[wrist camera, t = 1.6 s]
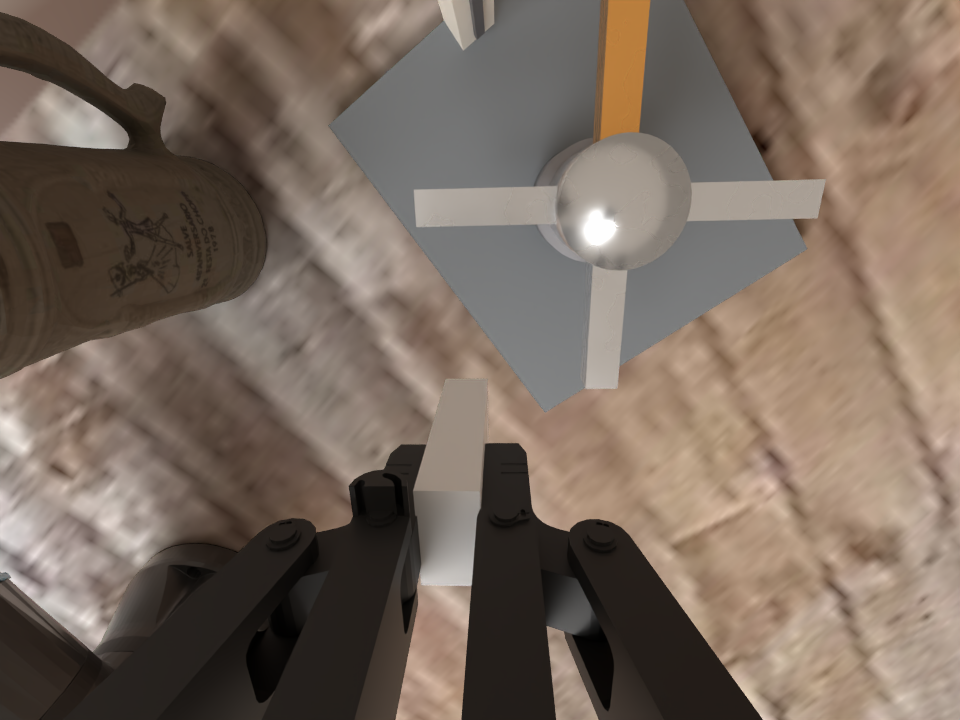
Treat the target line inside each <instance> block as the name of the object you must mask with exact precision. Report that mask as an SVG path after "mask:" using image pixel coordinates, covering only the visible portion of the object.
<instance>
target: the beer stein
mask: <svg viewBox="0 0 960 720" xmlns="http://www.w3.org/2000/svg"><path fill="white" fill-rule="evenodd" d="M0 66H2V67H7V68H11V69H15V70H19V71H23V72H26V73H29V74H31V75H33V76H35V77H37V78H39V79H42V80H45V81H49V82H51V83H54V84H56V85H58V86H60V87H62V88H64V89H66V90H67V91H69V92H71V93H73V94H74V95H76V96H78V97H80V98H81V99H83V100H85V101H86V102H88V103H90V104H91V105H93V106H95V107H96V108H98V109H99V110H101V111H102V112H104V113H105V114H107V115H108V116H109V117H110V118H112V119H113V120H114V121H116V122H117V123H118V124H120V125H121V126H122V127H123V128H124V129H125V131H126V132H127V133H128V136H129V139H130V140H129V144H128V147H127V148H125V149H124V150H123V149H95V148H80V147H68V146H57V145H48V144H36V143H21V142H6V141H0V379H1V378H4V377H6V376H9V375H11V374H13V373H15V372H17V371H19V370H21V369H23V368H24V367H26V366H28V365H31V364H33V363H36V362H38V361H41V360H43V359H45V358H48V357H50V356H53V355H55V354H58V353H60V352H62V351H65V350H67V349H70V348H72V347H75V346H77V345H80V344H82V343H84V342H87V341H90V340H95V339H102V338H109V337H112V336H115V335H118V334H120V333H123V332H126V331H130V330H133V329H137V328H140V327H144V326H146V325H149V324H151V323H153V322H155V321H158V320H161V319H164V318H167V317H170V316H173V315H177V314H180V313H183V312H190V311H195V310H200V309H204V308H207V307H209V306H211V305H214V304H217V303H221V302H225V301H228V300H232V299H234V298H236V297H238V296H240V295H241V294H242V293H244V292H245V291H246V290H247V289H248V288H249V287H250V286H251V285H252V284H253V283H254V281H255V280H256V279H257V277H258V275H259V273H260V271H261V269H262V268H263V264H264V259H265V254H266V235H265V231H264V226H263V222H262V218H261V215H260V213H259V211H258V209H257V207H256V205H255V203H254V202H253V200H252V199H251V197H250V196H249V194H248V193H247V191H246V190H245V189H244V187H243V186H242V185H241V184H240V183H239V182H238V181H237V180H236V179H234V178H233V177H232V176H231V175H230V174H228V173H226V172H225V171H223V170H222V169H220V168H218V167H217V166H215V165H213V164H211V163H208V162H205V161H203V160H200V159H195V158H191V157H185V156H175V155H174V154H172V153H171V152H170V151H169V150H168V149H167V148H166V146H165V145H164V143H163V141H162V138H161V133H160V126H161V122H162V117H163V112H164V109H165V105H166V100H165V97H163V96H162V95H160V94H159V93H157V92H156V91H154V90H153V89H151V88H149V87H146V86H144V85H141V84H136V83H134V84H133V85H131V86H130V87H129V88H127V89H122V88H120V87H119V86H118V85H116V84H115V83H114V82H112V81H111V80H110V79H108V78H107V77H106V76H105V75H104V74H103V73H101V72H100V71H99V70H98V69H97V68H96V67H95V66H94V65H92V64H91V63H90V62H89V61H88V60H86V59H85V58H84V57H83V56H82V55H81V54H79V53H78V52H77V51H76V50H75V49H73V48H72V47H71V46H70V45H68V44H66V43H65V42H63V41H61V40H60V39H58V38H56V37H55V36H53V35H51V34H49V33H48V32H46V31H45V30H43V29H41V28H39V27H37V26H35V25H33V24H31V23H29V22H27V21H25V20H23V19H20V18H17V17H14V16H11V15H8V14H5V13H1V12H0Z"/></svg>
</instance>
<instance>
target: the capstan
mask: <svg viewBox="0 0 960 720" xmlns="http://www.w3.org/2000/svg"><path fill="white" fill-rule="evenodd" d="M649 9H650V0H601V3H600V21H599V40H598V58H597V77H596V95H595V113H594V132H593V145H591V146H589V147H587V148H585V149H583V150H581V151H579V152H577V153H576V154H574V155H572V156H571V157H570V158H568V159H567V160H566V161H565V162H564V163H563V164H562V165H561V166H560V167H559V169H558V170H557V171H556V173H555V174H554V176H553V178H552V180H551V182H550V185H549V186H540V187H500V188H460V189H421V190H414V202H415V217H416V227H444V226H489V225H535V224H549V225H550V227H551V229H552V231H553V233H554V234H555V236H556V237H557V238H558V240H559V241H560V242H561V243H563V244H564V245H565V246H566V247H568V248H569V249H570V250H572V251H573V252H574V253H576V254H577V255H578V256H580V257H581V258H582V259H584V260H585V261H586V279H585V297H584V315H583V334H582V352H581V370H580V378H581V380H582V382H583V385H584V387H585V389H617V387H618V375H619V363H620V351H621V340H622V328H623V316H624V304H625V292H626V281H627V270H630V269H634V268H638V267H641V266H644V265H646V264H648V263H650V262H652V261H654V260H655V259H657V258H658V257H660V256H661V255H662V254H663V253H665V252H666V251H667V250H668V249H669V248H670V247H671V246H672V245H673V244H674V242H675V241H676V240H677V238H678V237H679V235H680V234H681V232H682V230H683V228H684V226H685V224H686V222H687V221H718V220H763V219H809V218H818V213H819V209H820V204H821V199H822V195H823V190H824V185H825V181H826V179H817V180H778V181H738V182H698V183H691V181H690V176H689V173H688V170H687V168H686V166H685V164H684V162H683V160H682V159H681V157H680V156H679V154H678V153H677V152H676V151H675V150H674V149H673V148H672V147H671V146H670V145H669V144H667V143H666V142H665V141H663V140H661V139H659V138H657V137H655V136H652V135H649V134H644V133H639V127H640V115H641V104H642V92H643V80H644V68H645V56H646V45H647V33H648V21H649Z"/></svg>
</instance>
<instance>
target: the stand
mask: <svg viewBox="0 0 960 720" xmlns="http://www.w3.org/2000/svg"><path fill="white" fill-rule="evenodd" d="M438 3H439V6H440V9H441V13H442V16H443V19H444V21H443V22H442V23H441V24H439V25H438V26H437V27H436V28H435V29H434V30H433V31H432V32H431V33H430V34H428V35H427V36H426V37H425V38H424V39H423V40H422V41H421V42H420V43H419V44H417V45H416V46H415V47H414V48H413V49H412V50H411V51H410V52H409V53H408V54H406V55H405V56H404V57H403V58H402V59H401V60H400V61H399V62H398V63H397V64H395V65H394V66H393V67H392V68H391V69H390V70H389V71H388V72H387V73H386V74H384V75H383V76H382V77H381V78H380V79H379V80H378V81H377V82H376V83H375V84H373V85H372V86H371V87H370V88H369V89H368V90H367V91H366V92H365V93H364V94H362V95H361V96H360V97H359V98H358V99H357V100H356V101H355V102H354V103H353V104H351V105H350V106H349V107H348V108H347V109H346V110H345V111H344V112H343V113H342V114H340V115H339V116H338V117H337V118H336V119H335V120H334V121H333V122H332V123H331V124H329V125H328V126H329V127H330V129H331V130H332V131H333V133H334V134H335V135H336V137H337V138H338V139H339V141H340V142H341V143H342V145H343V146H344V147H345V149H346V150H347V151H348V153H349V154H350V155H351V157H352V158H353V159H354V161H355V162H356V163H357V164H358V166H359V167H360V168H361V170H362V171H363V172H364V174H365V175H366V176H367V178H368V179H369V180H370V182H371V183H372V184H373V186H374V187H375V188H376V190H377V191H378V192H379V194H380V195H381V196H382V198H383V199H384V200H385V202H386V203H387V204H388V206H389V207H390V208H391V209H392V211H393V212H394V213H395V215H396V216H397V217H398V219H399V220H400V221H401V223H402V224H403V225H404V227H405V228H406V229H407V231H408V232H409V233H410V235H411V236H412V237H413V239H414V240H415V241H416V243H417V244H418V245H419V247H420V248H421V249H422V251H423V252H424V253H425V254H426V256H427V257H428V258H429V260H430V261H431V262H432V264H433V265H434V266H435V268H436V269H437V270H438V272H439V273H440V274H441V276H442V277H443V278H444V280H445V281H446V282H447V284H448V285H449V286H450V288H451V289H452V290H453V292H454V293H455V294H456V295H457V297H458V298H459V299H460V301H461V302H462V303H463V305H464V306H465V307H466V309H467V310H468V311H469V313H470V314H471V315H472V317H473V318H474V319H475V321H476V322H477V323H478V325H479V326H480V327H481V329H482V330H483V331H484V333H485V334H486V335H487V337H488V338H489V339H490V340H491V342H492V343H493V344H494V346H495V347H496V348H497V350H498V351H499V352H500V354H501V355H502V356H503V358H504V359H505V360H506V362H507V363H508V364H509V366H510V367H511V368H512V370H513V371H514V372H515V374H516V375H517V376H518V378H519V379H520V380H521V381H522V383H523V384H524V385H525V387H526V388H527V389H528V391H529V392H530V393H531V395H532V396H533V397H534V399H535V400H536V401H537V403H538V404H539V405H540V407H541V408H542V409H543V411H544V412H547V411H548V410H550V409H552V408H553V407H555V406H556V405H558V404H560V403H561V402H563V401H564V400H566V399H568V398H569V397H571V396H572V395H574V394H576V393H577V392H579V391H580V390H582V389H584V388H585V387H584V385H583V382H582V380H581V378H580V370H581V352H582V334H583V315H584V297H585V279H586V261H585V260H584V259H582V258H581V257H580V256H578V255H577V254H576V253H574V252H573V251H572V250H570V249H569V248H568V247H566V246H565V245H564V244H563V243H561V242H560V241H559V240H558V238H557V237H556V236H555V234H554V233H553V231H552V229H551V227H550V225H549V224H535V225H489V226H444V227H416V217H415V202H414V190H421V189H460V188H500V187H540V186H549V185H550V182H551V180H552V178H553V176H554V174H555V173H556V171H557V170H558V169H559V167H560V166H561V165H562V164H563V163H564V162H565V161H566V160H567V159H568V158H570V157H571V156H572V155H574V154H576V153H577V152H579V151H581V150H583V149H585V148H587V147H589V146H591V145H593V132H594V113H595V95H596V77H597V58H598V40H599V21H600V3H601V0H438ZM639 133H644V134H649V135H652V136H655V137H657V138H659V139H661V140H663V141H665V142H666V143H667V144H669V145H670V146H671V147H672V148H673V149H674V150H675V151H676V152H677V153H678V154H679V156H680V157H681V159H682V160H683V162H684V164H685V166H686V168H687V170H688V173H689V176H690V181H691V183H698V182H738V181H773V179H772V177H771V175H770V173H769V171H768V169H767V167H766V165H765V163H764V161H763V159H762V157H761V155H760V153H759V151H758V149H757V147H756V145H755V143H754V141H753V139H752V137H751V135H750V133H749V131H748V129H747V127H746V124H745V122H744V120H743V118H742V116H741V114H740V112H739V110H738V108H737V106H736V104H735V102H734V100H733V98H732V96H731V94H730V92H729V90H728V88H727V86H726V84H725V82H724V80H723V78H722V76H721V74H720V72H719V70H718V68H717V66H716V64H715V62H714V60H713V58H712V56H711V54H710V52H709V50H708V48H707V46H706V44H705V42H704V40H703V38H702V36H701V34H700V32H699V30H698V28H697V26H696V24H695V22H694V20H693V18H692V16H691V14H690V12H689V10H688V8H687V6H686V4H685V2H684V0H650V9H649V21H648V33H647V45H646V56H645V68H644V80H643V92H642V104H641V115H640V127H639ZM805 250H807V247H806V245H805V243H804V241H803V239H802V237H801V235H800V233H799V231H798V229H797V227H796V225H795V223H794V221H793V219H763V220H718V221H687V222H686V224H685V226H684V228H683V230H682V232H681V234H680V235H679V237H678V238H677V240H676V241H675V242H674V244H673V245H672V246H671V247H670V248H669V249H668V250H667V251H666V252H665V253H663V254H662V255H661V256H660V257H658V258H657V259H655V260H654V261H652V262H650V263H648V264H646V265H644V266H641V267H638V268H634V269H630V270H627V281H626V292H625V304H624V316H623V328H622V340H621V351H620V363H619V366H621V365H622V364H624V363H625V362H627V361H629V360H630V359H632V358H633V357H635V356H637V355H638V354H640V353H641V352H643V351H645V350H646V349H648V348H649V347H651V346H653V345H654V344H656V343H657V342H659V341H661V340H662V339H664V338H665V337H667V336H669V335H670V334H672V333H673V332H675V331H677V330H678V329H680V328H681V327H683V326H685V325H686V324H688V323H689V322H691V321H693V320H694V319H696V318H697V317H699V316H701V315H702V314H704V313H706V312H707V311H709V310H710V309H712V308H714V307H715V306H717V305H718V304H720V303H722V302H723V301H725V300H726V299H728V298H730V297H731V296H733V295H734V294H736V293H738V292H739V291H741V290H742V289H744V288H746V287H747V286H749V285H750V284H752V283H754V282H755V281H757V280H758V279H760V278H762V277H763V276H765V275H766V274H768V273H770V272H771V271H773V270H774V269H776V268H778V267H779V266H781V265H782V264H784V263H786V262H787V261H789V260H791V259H792V258H794V257H795V256H797V255H799V254H800V253H802V252H803V251H805Z"/></svg>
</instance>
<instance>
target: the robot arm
mask: <svg viewBox="0 0 960 720" xmlns="http://www.w3.org/2000/svg"><path fill="white" fill-rule="evenodd" d="M349 491H350V498H351V505H352V512H353V518H352V520H351V522H350V524H348V525H346V526H343V527H339V528H336V529H332V530H327V531H322V532H318V533H316V529H315V527H314V525H313V524H312V523H311V522H310V521H307V520H305V519H295V518H291V519H287V520H282V521H279V522H276V523H274V524H272V525H270V526H268V527H266V528H265V529H264V530H262V531H261V532H260V533H258V534H257V535H256V536H255V537H254V538H253V539H252V540H251V541H250V542H249V543H248V544H247V545H246V546H245V547H244V548H242V549H241V550H240V551H239V552H238V553H236V552H234V551H232V550H229V549H226V548H222V547H219V546H214V545H208V544H183V545H178V546H174V547H171V548H168V549H165V550H163V551H161V552H160V553H158V554H156V555H155V556H154V557H153V558H151V559H150V560H149V561H148V562H147V564H146V565H145V566H144V567H143V568H142V569H141V570H140V571H139V572H138V573H137V574H136V575H135V576H134V578H133V579H132V580H131V582H130V583H129V585H128V587H127V589H126V591H125V593H124V595H123V597H122V599H121V601H120V603H119V605H118V607H117V609H116V611H115V614H114V616H113V618H112V620H111V622H110V624H109V626H108V628H107V630H106V632H105V634H104V636H103V639H102V641H101V642H100V644H99V645H98V646H97V647H96V649H95V650H94V651H93V652H92V651H90V650H89V649H88V648H87V647H86V646H85V645H84V644H83V643H82V642H80V641H79V640H78V639H77V638H76V637H75V636H73V635H72V634H71V633H70V632H69V631H68V630H67V629H65V628H64V627H63V626H62V625H61V624H60V623H58V622H57V621H56V620H55V619H54V618H53V617H51V616H50V615H49V614H48V613H47V612H46V611H44V610H43V609H42V608H41V607H40V606H39V605H37V604H36V603H35V602H34V601H33V600H32V599H31V598H29V597H28V596H27V595H26V594H25V593H24V592H22V591H21V590H20V589H19V588H18V587H17V586H16V585H15V584H13V583H12V582H11V581H10V580H9V579H10V578H11V577H10V575H9V574H8V573H6V572H5V573H1V572H0V720H395V719H396V714H397V708H398V703H399V698H400V693H401V688H402V683H403V678H404V673H405V668H406V663H407V657H408V652H409V647H410V642H411V637H412V632H413V627H414V622H415V617H416V612H417V606H418V594H417V583H418V578H419V573H420V576H421V585H442V586H472V588H471V601H470V614H469V627H468V641H467V654H466V667H465V680H464V693H463V707H462V720H556V714H555V704H554V695H553V685H552V675H551V666H550V656H549V646H548V637H547V627H546V626H549V627H552V628H555V629H558V630H561V631H564V634H565V639H566V641H567V643H568V646H569V648H570V651H571V653H572V656H573V658H574V660H575V663H576V665H577V668H578V670H579V673H580V675H581V677H582V680H583V682H584V685H585V687H586V690H587V692H588V694H589V697H590V699H591V702H592V704H593V707H594V709H595V711H596V714H597V716H598V719H599V720H763V719H762V718H761V716H760V715H759V714H758V712H757V711H756V710H755V708H754V707H753V705H752V704H751V703H750V701H749V700H748V698H747V697H746V696H745V694H744V693H743V692H742V690H741V689H740V687H739V686H738V685H737V683H736V682H735V681H734V679H733V678H732V676H731V675H730V674H729V672H728V671H727V669H726V668H725V667H724V665H723V664H722V663H721V661H720V660H719V658H718V657H717V656H716V654H715V653H714V652H713V650H712V649H711V647H710V646H709V645H708V643H707V642H706V640H705V639H704V638H703V636H702V635H701V634H700V632H699V631H698V629H697V628H696V627H695V625H694V624H693V623H692V621H691V620H690V618H689V617H688V616H687V614H686V613H685V611H684V610H683V609H682V607H681V606H680V605H679V603H678V602H677V600H676V599H675V598H674V596H673V595H672V594H671V592H670V591H669V589H668V588H667V587H666V585H665V584H664V583H663V581H662V580H661V578H660V577H659V576H658V574H657V573H656V571H655V570H654V569H653V567H652V566H651V565H650V563H649V562H648V560H647V559H646V558H645V556H644V555H643V554H642V552H641V551H640V549H639V548H638V547H637V545H636V544H635V542H634V541H633V540H632V538H631V537H630V536H629V534H627V533H626V532H625V531H624V530H623V529H622V528H621V527H619V526H617V525H615V524H613V523H611V522H608V521H604V520H600V519H589V520H584V521H581V522H578V523H577V524H575V525H574V526H573V527H572V528H571V529H570V532H568V531H564V530H560V529H556V528H554V527H551V526H549V525H547V524H545V523H543V522H542V521H541V520H539V519H538V518H537V517H536V515H535V514H534V512H533V509H532V505H531V495H530V485H529V475H528V465H527V455H526V452H525V451H524V449H523V448H522V447H521V446H520V445H519V444H518V443H489V425H488V379H446V380H445V383H444V387H443V390H442V393H441V397H440V400H439V404H438V407H437V411H436V414H435V417H434V421H433V424H432V428H431V431H430V435H429V438H428V441H427V445H400V446H399V447H398V448H397V449H395V450H394V451H393V452H392V453H391V454H390V456H389V459H388V461H387V463H386V466H385V468H384V470H376V471H371V472H368V473H365V474H363V475H361V476H359V477H358V478H356V479H354V481H353V482H352V483H351V484H350V485H349Z"/></svg>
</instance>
